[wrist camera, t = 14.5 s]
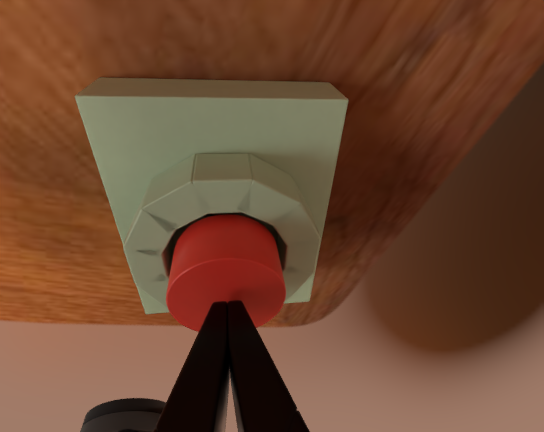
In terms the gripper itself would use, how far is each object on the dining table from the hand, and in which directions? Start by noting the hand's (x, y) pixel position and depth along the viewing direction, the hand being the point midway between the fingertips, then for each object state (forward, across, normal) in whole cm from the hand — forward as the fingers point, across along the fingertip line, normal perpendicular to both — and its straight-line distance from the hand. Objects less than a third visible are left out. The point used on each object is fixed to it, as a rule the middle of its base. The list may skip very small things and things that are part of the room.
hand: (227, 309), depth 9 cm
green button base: (+6, 0, 0) cm, 6 cm away
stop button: (+2, 0, 0) cm, 2 cm away
